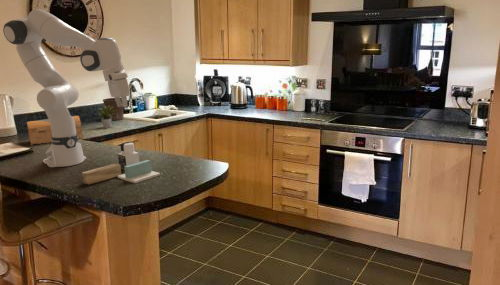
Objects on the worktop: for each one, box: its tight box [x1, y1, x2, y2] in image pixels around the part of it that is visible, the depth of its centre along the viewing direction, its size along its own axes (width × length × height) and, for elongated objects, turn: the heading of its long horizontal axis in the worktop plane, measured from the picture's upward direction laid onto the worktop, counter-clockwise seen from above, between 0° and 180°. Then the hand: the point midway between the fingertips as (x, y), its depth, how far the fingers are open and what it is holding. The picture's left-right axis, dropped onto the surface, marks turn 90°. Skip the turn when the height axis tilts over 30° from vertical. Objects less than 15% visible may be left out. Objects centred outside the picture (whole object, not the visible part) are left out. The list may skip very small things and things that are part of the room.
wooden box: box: [26, 115, 84, 145], centre depth 265 cm, size 30×16×14 cm, turn 119°
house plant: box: [97, 104, 116, 129], centre depth 298 cm, size 14×14×16 cm
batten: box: [81, 163, 123, 186], centre depth 183 cm, size 4×16×5 cm, turn 139°
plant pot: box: [102, 97, 125, 122], centre depth 331 cm, size 16×16×16 cm
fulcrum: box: [117, 159, 161, 184], centre depth 184 cm, size 13×13×6 cm
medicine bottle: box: [117, 141, 140, 171], centre depth 198 cm, size 7×7×12 cm
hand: (122, 106), depth 184 cm, fingers open, 8 cm apart
